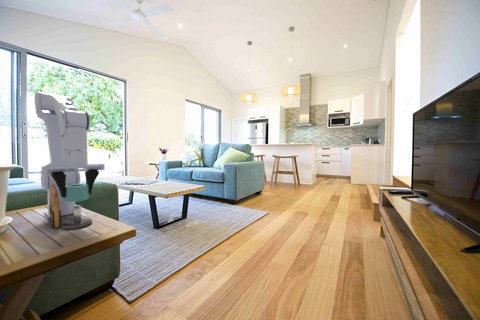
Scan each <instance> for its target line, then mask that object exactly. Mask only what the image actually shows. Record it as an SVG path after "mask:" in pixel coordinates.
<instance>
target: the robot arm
mask: <svg viewBox="0 0 480 320" xmlns="http://www.w3.org/2000/svg"><path fill="white" fill-rule="evenodd" d="M34 105H35V114H36V117H37V118H39V119H41V120H43V122H44V124H45V127H46V134H47V135H46V136H47V144H48V150H49V158H50V160H49V161H50V162H49V163H48V164H46V165H44V166H43V165H42V166H41V170H40V174H41V175H40V184H41V185H40V186H41V188H42V189H43V190H46V191H47V196H46V197H47V210H45V211H43V213H44V214H45V215H46V216H47V217H48V218H49V219H50V211H49V205H50V189H51V185H52V184H53V185H54V186H55V187H56V189H57V191H58V197H59V202H60V210H61V217H62V216H67V215H72V214H73V206H76V202H65V201H64V197H66V187H65V186H67V185H73V184H81V174H80V172H84V175H85V184H88V186H89V195H92V190H93V187H94V183H95V181H96V180H97V178H98V176H99V173H100V171H105V163H92V164H91V163H88V161H89V159H88V136H87V135H88V133H87V132H88V130H89V128H90V124H91V123H90V122H91V120H90V115H89V113H88V111H80V109H78V107H77V106H76V105H74V100H73V98H72V97H71V96H64V95H58V94H54V93H47V92H41V91H37V92H35V94H34Z"/></svg>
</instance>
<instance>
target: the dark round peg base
mask: <svg viewBox="0 0 480 320" xmlns="http://www.w3.org/2000/svg"><path fill="white" fill-rule="evenodd" d="M92 220H93V219H91V218H82V205H81V204H78V205H77V204H75V206H73V220H70V221H66V222H64V223H63V224H61V228H62V230H65V231H70V230H77V229H83V228H86V227H88V226H90V225H91V224H92V223H93V221H92Z"/></svg>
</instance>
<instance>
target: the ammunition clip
mask: <svg viewBox="0 0 480 320" xmlns="http://www.w3.org/2000/svg"><path fill="white" fill-rule="evenodd" d="M49 211H50V218H49V222H50V224H51V227H52V229H53V230H54V229H58V228H62V216H61V210H60V202H59V197H58V191H57V189H56V187H55V186H54V185H53V184H52V185H51V189H50V205H49Z"/></svg>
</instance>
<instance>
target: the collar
mask: <svg viewBox="0 0 480 320" xmlns="http://www.w3.org/2000/svg"><path fill="white" fill-rule="evenodd" d="M65 187H66V197H64V201H65V202H75V203H76V202H82V201H86V200H88V199H90V194H89V186H88V184H86V183H80V184H73V185H67V186H65Z"/></svg>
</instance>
